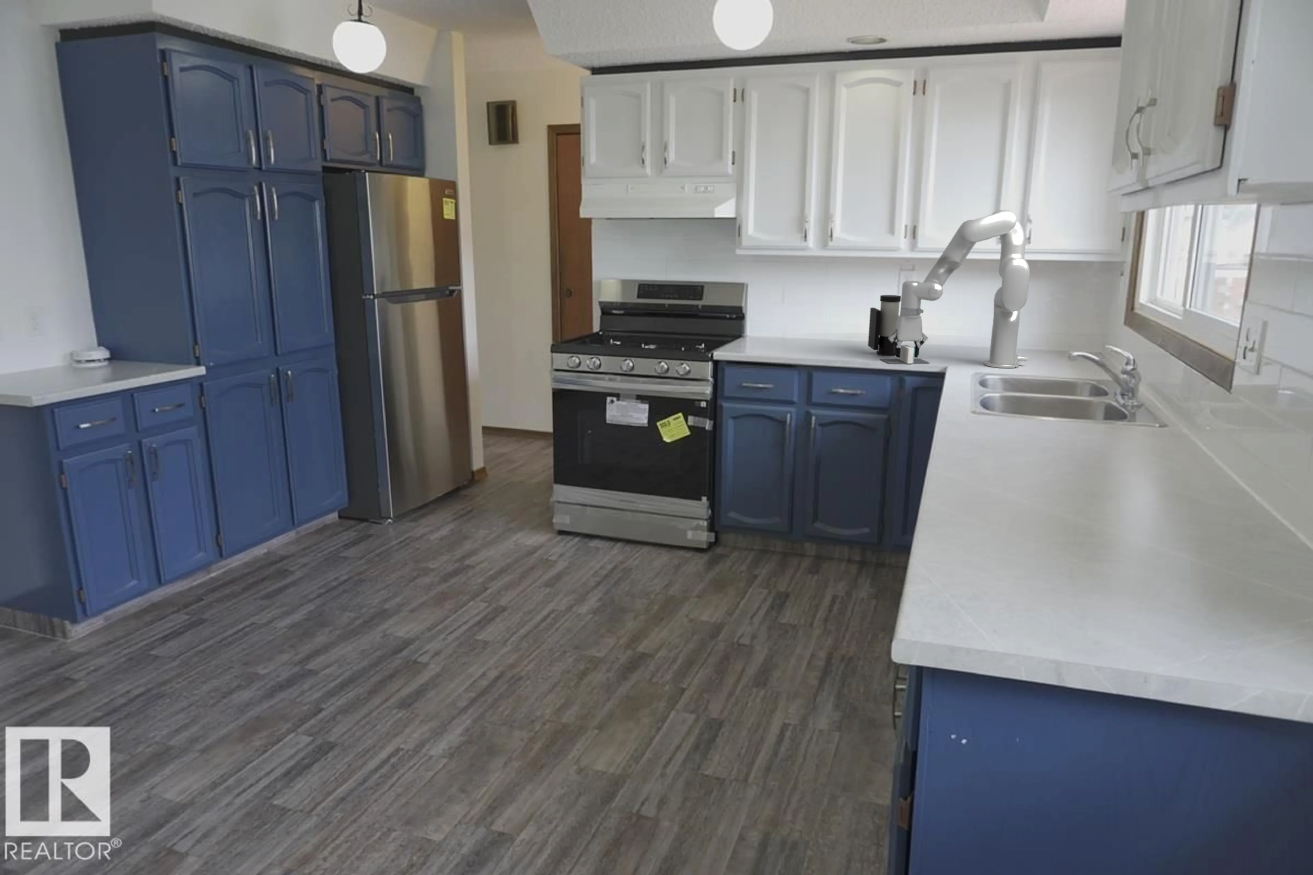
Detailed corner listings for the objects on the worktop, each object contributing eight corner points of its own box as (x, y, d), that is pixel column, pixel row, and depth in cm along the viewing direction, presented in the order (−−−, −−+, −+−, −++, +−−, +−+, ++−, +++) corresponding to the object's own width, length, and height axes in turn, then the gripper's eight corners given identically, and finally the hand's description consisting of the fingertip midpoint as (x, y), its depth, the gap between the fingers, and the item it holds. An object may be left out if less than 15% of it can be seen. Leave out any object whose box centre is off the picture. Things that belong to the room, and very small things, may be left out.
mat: (919, 359, 358) (920, 358, 358) (929, 363, 349) (929, 362, 349) (879, 359, 357) (879, 359, 357) (888, 364, 347) (888, 363, 347)
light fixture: (899, 356, 365) (904, 297, 359) (873, 356, 365) (877, 297, 359) (892, 352, 377) (897, 294, 370) (867, 352, 377) (871, 294, 371)
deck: (905, 359, 355) (906, 345, 354) (913, 363, 346) (914, 348, 345) (899, 359, 355) (900, 345, 353) (907, 363, 346) (908, 348, 345)
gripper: (927, 311, 350) (923, 355, 355) (885, 311, 349) (882, 356, 353) (935, 313, 343) (931, 358, 347) (892, 313, 341) (888, 359, 346)
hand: (906, 356), depth 350 cm, fingers open, 6 cm apart
